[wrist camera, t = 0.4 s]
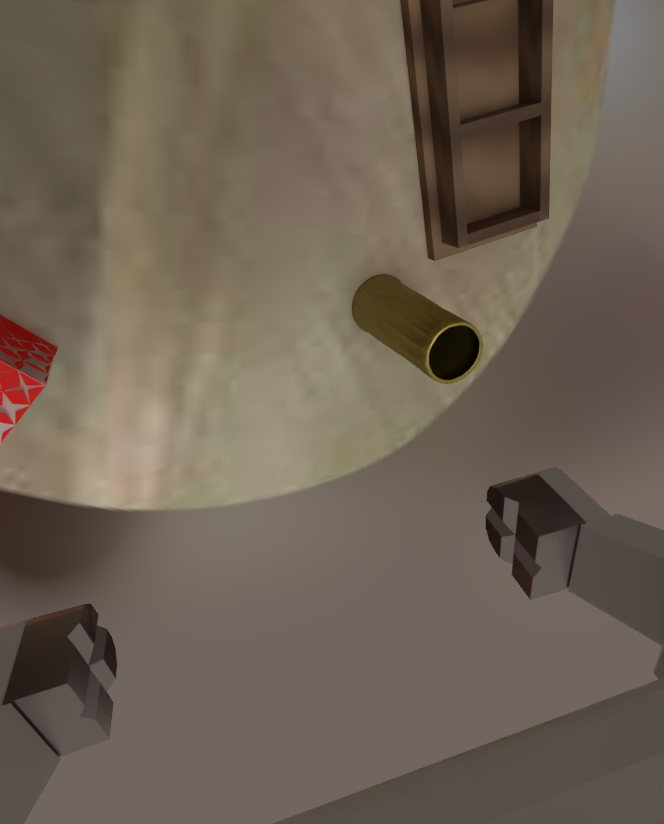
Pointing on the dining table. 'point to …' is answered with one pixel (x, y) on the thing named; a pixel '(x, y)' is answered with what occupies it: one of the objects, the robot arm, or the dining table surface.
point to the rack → (480, 116)
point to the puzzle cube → (20, 371)
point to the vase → (418, 329)
